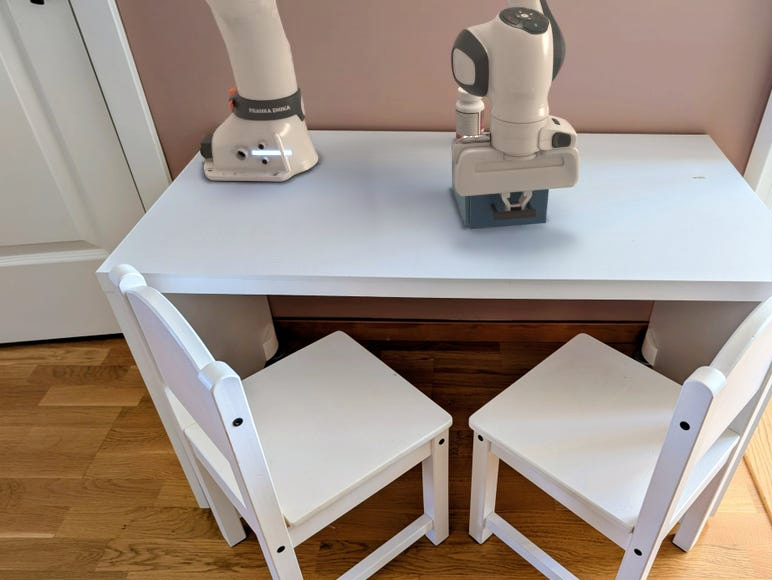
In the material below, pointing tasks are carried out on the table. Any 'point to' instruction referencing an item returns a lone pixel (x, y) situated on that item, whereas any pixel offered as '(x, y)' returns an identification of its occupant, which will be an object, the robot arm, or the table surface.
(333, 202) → the table surface
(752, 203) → the table surface
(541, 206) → the drawer
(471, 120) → the pill bottle
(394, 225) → the table surface
